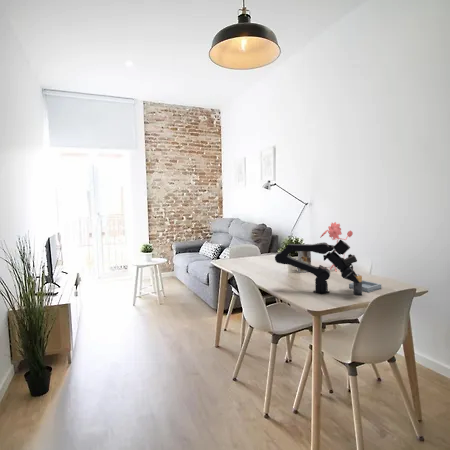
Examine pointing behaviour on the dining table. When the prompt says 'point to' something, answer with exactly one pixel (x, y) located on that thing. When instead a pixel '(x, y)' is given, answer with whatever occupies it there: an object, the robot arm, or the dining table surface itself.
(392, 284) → the dining table surface
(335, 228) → the pink flower sprig
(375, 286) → the grey tray
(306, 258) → the coffee box
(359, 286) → the big battery
